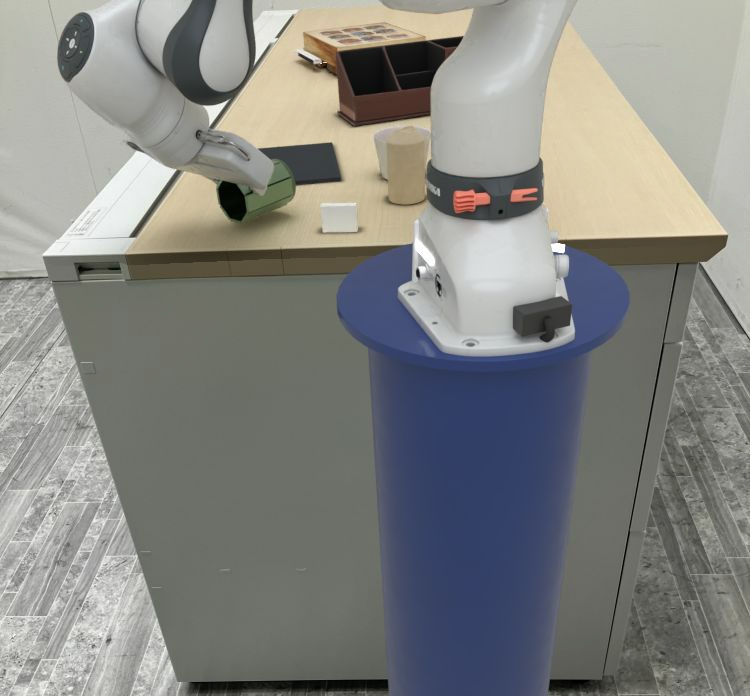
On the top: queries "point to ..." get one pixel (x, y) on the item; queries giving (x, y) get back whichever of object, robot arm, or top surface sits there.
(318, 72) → the top surface
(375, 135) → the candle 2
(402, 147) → the candle
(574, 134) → the top surface
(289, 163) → the mat
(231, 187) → the bucket
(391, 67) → the desk organizer
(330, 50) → the wooden box
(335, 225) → the eraser
